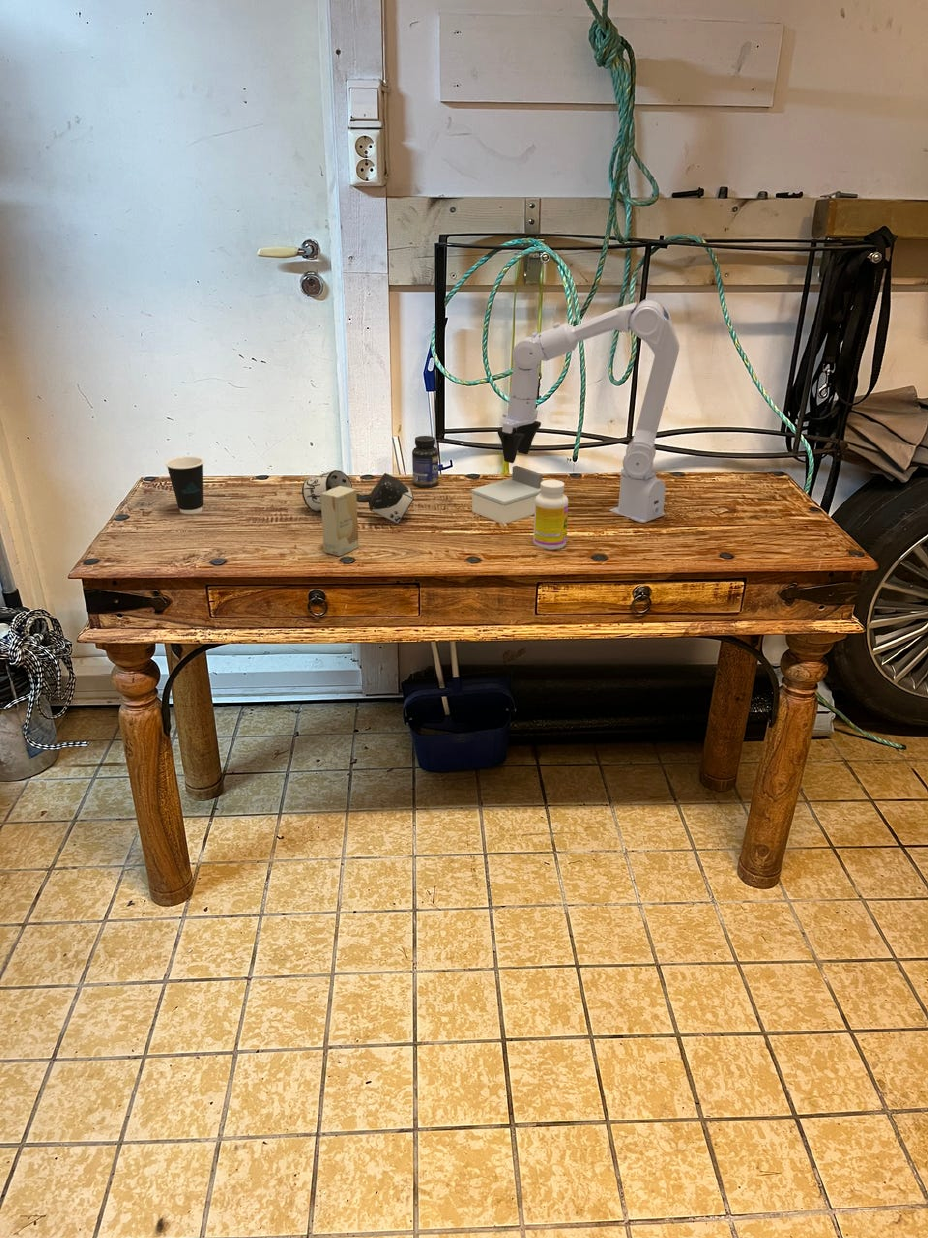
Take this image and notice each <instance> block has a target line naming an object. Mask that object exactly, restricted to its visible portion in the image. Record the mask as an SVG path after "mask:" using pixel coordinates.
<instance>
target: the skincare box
mask: <svg viewBox="0 0 928 1238" xmlns="http://www.w3.org/2000/svg"><path fill="white" fill-rule="evenodd" d="M356 494H357V489H356V488H353V487H352V488H348V487H344V486H338V487H336V488H333V489H330V490H328V491H326V492H323V493H321V494H320V495H321V511H320V512H321V527H322V528H321V529H322V547H323V548H322V550H323V553H326V554H330V555H334V556H338V557H340V556H343V555H345V554H347V553H349V552H351V551H353V550H355V549H358V548H359V529H358V528H359V526H358V524H359V523H358V502H357V496H356ZM357 547H358V548H357Z"/></svg>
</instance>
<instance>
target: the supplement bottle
mask: <svg viewBox="0 0 928 1238" xmlns="http://www.w3.org/2000/svg"><path fill="white" fill-rule="evenodd" d="M540 489H541V493H540V494H539V495H537V497H536V498H535V513H534V517H533V519H534V521H533V536H532V537H533V545H535V546H536V547H539V548H542V549H545V550H552V551H553V550H559V549H562V548H564V547H565V546H566V545H567V537H568V535H567V534H568V519H569V517H568V516H569V498H568V497H567V495H566V494H564V491H565V482H564V481H561V480H558V479H545V480H542V482H541V486H540Z"/></svg>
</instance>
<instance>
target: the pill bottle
mask: <svg viewBox="0 0 928 1238" xmlns="http://www.w3.org/2000/svg"><path fill="white" fill-rule="evenodd" d="M414 445H415V447H414V448H413V449H412V451H411V457H412V459H411V463H412V469H411V470H412V483H413V485H414V486H415V487H417V488H418V487H419V488H424V489H425V488H433V487H436V486H438V484H439V482H440V481H439V450H438V448H436V447H435V445H436V438H435V437H434V436H432V435H419V436H417V437H415V438H414Z"/></svg>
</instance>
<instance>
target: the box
mask: <svg viewBox="0 0 928 1238" xmlns="http://www.w3.org/2000/svg"><path fill="white" fill-rule="evenodd" d="M537 495H539V494H537ZM537 495H534V496H531V497H528V498H524V499H521V500H518V501H515V502H512V503H508V504H505V505H504V504H501V503H498V502H496V501H493V500H490V499H488V498H485V497H482V496H480V495H477V494H474V493H472V494H471V498H472V499H471V512H472V513H475V514H477V515H479V516H482V517H485V518H486V519H488V520H492V521H495V522H497V523H499V524H502V525H506V524H509V523H513V522H515V521H519V520H521V519H524V518H527V517H530V516H533V515H534V513H535V498H536V497H537Z"/></svg>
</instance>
